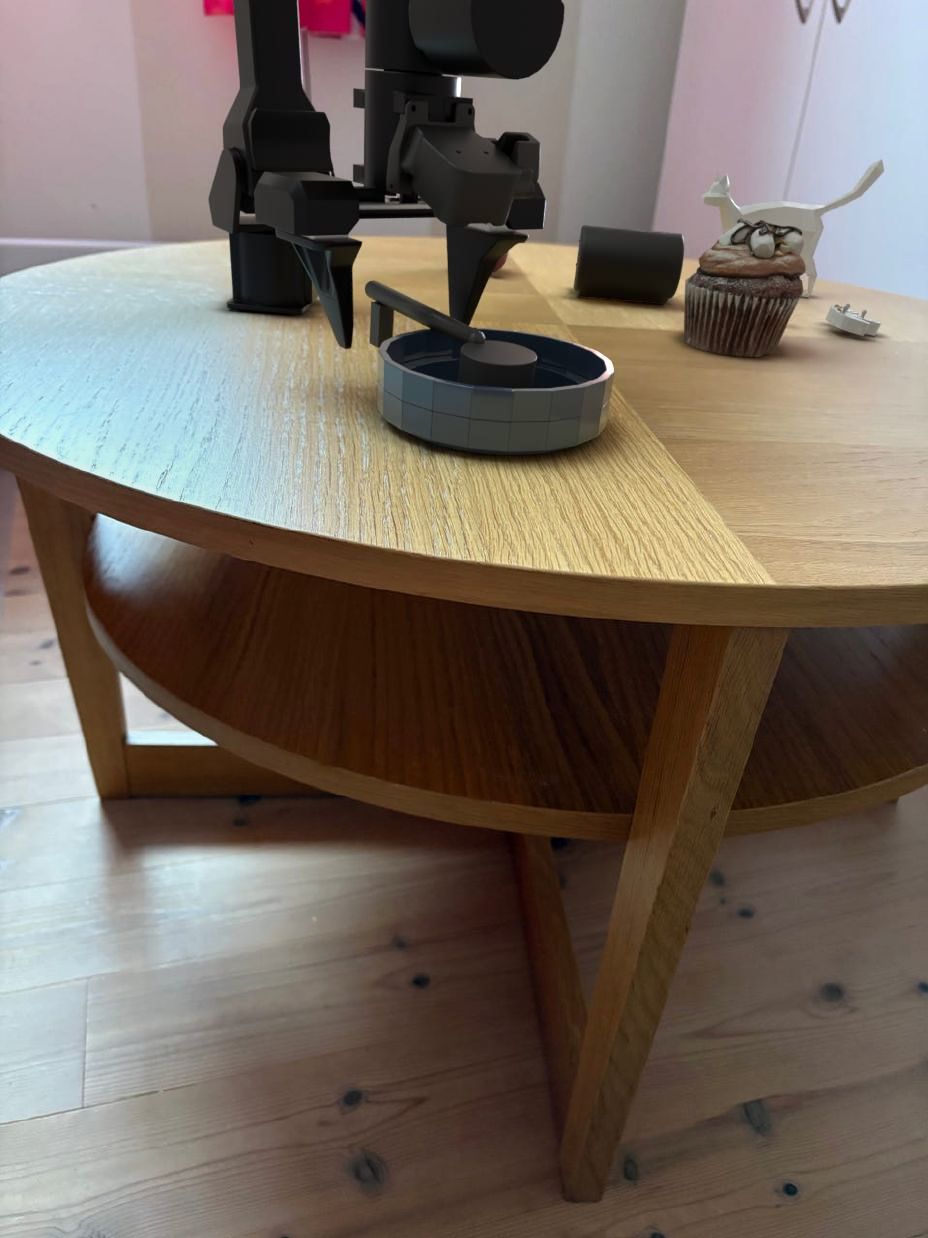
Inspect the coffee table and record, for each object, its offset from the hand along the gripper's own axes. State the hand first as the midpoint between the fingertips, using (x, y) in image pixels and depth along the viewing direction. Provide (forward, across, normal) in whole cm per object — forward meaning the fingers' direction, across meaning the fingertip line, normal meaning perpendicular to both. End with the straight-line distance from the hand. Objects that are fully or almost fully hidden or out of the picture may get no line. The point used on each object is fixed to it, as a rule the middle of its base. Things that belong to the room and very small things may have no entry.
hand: (404, 341), depth 60 cm
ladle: (+1, 0, -4) cm, 4 cm away
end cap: (+3, +36, +14) cm, 39 cm away
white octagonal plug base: (+3, +46, -2) cm, 46 cm away
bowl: (+2, 0, -10) cm, 10 cm away
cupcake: (+3, +32, -3) cm, 32 cm away
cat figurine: (+3, +58, +12) cm, 59 cm away
